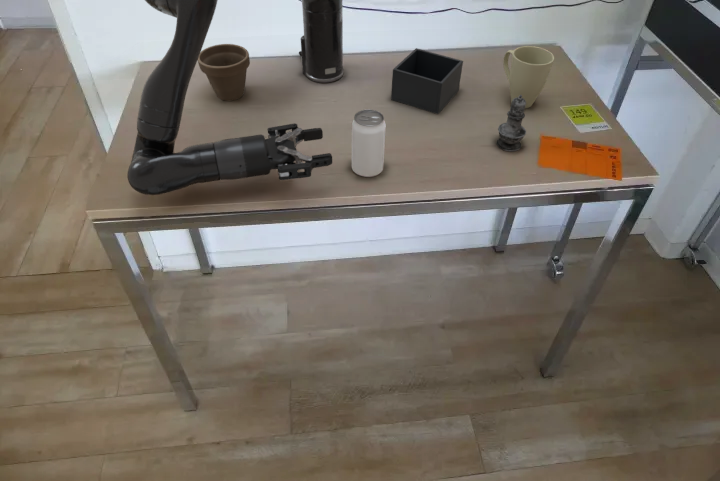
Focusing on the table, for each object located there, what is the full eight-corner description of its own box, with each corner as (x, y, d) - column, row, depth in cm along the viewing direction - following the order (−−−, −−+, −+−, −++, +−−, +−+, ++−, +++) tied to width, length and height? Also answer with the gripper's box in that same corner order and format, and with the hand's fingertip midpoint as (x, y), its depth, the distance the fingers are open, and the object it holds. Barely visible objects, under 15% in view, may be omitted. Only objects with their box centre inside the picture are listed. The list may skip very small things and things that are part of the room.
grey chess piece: (491, 136, 123) (502, 87, 114) (518, 135, 123) (530, 86, 115) (498, 152, 118) (510, 102, 110) (526, 151, 119) (539, 101, 110)
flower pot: (195, 100, 131) (186, 60, 124) (221, 78, 138) (214, 39, 131) (238, 111, 128) (231, 71, 121) (262, 88, 136) (257, 48, 128)
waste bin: (390, 99, 133) (392, 69, 127) (413, 77, 140) (416, 48, 135) (438, 114, 129) (442, 83, 123) (458, 90, 136) (463, 60, 131)
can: (380, 180, 111) (383, 128, 103) (348, 175, 112) (348, 124, 104) (385, 161, 116) (388, 110, 107) (355, 156, 117) (355, 106, 108)
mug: (543, 95, 135) (556, 47, 127) (538, 116, 129) (552, 67, 120) (498, 86, 138) (507, 40, 129) (491, 107, 131) (501, 59, 123)
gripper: (243, 164, 97) (335, 150, 100) (234, 119, 107) (318, 108, 110) (249, 197, 102) (335, 183, 105) (240, 152, 112) (319, 140, 115)
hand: (326, 145), depth 108 cm, fingers open, 8 cm apart
